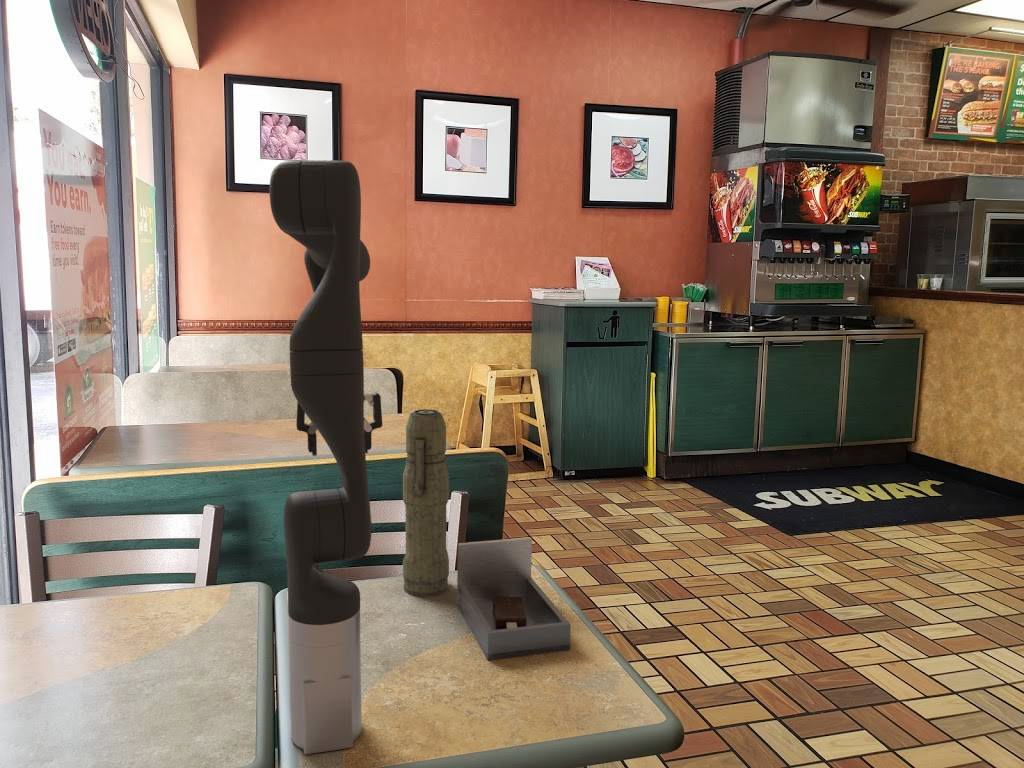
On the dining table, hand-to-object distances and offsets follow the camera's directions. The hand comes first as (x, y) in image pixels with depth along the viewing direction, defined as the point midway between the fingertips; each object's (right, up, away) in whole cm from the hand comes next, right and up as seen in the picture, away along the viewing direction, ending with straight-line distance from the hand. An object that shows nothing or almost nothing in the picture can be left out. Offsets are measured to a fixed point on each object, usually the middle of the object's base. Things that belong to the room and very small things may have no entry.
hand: (340, 453), depth 138 cm
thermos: (+13, -28, +19) cm, 36 cm away
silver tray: (+29, -31, +3) cm, 42 cm away
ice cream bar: (+29, -30, +3) cm, 42 cm away
